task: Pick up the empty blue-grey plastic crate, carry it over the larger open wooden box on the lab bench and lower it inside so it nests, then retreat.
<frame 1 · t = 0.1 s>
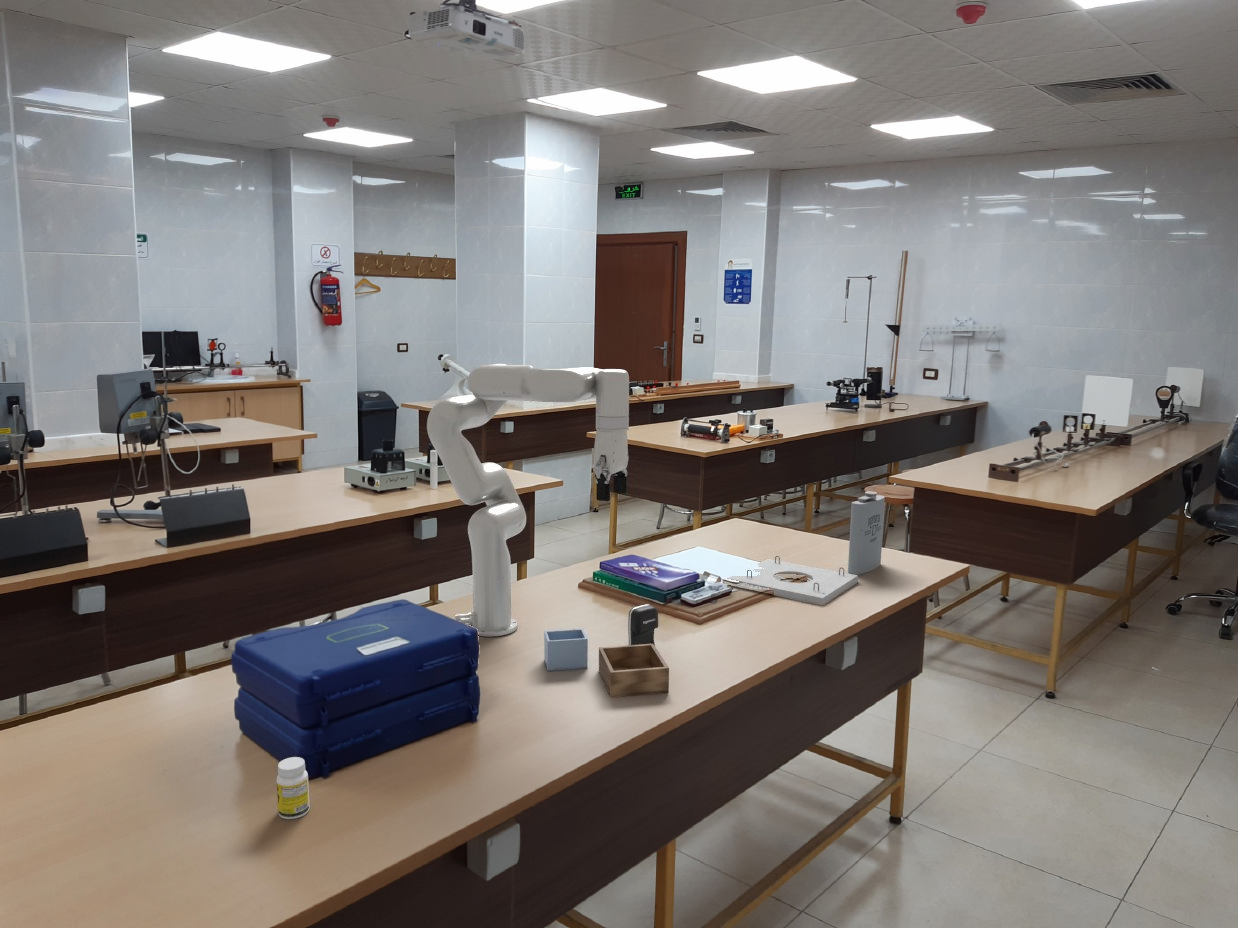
hand: (611, 496, 200), 37 cm above the lab bench, fingers open, 9 cm apart
supplement bottle: (294, 812, 138), on the lab bench
flask: (865, 569, 275), on the lab bench
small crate: (565, 664, 197), on the lab bench
mounting panel: (792, 586, 259), on the lab bench
black upright device: (643, 654, 204), on the lab bench
open wooden box: (632, 681, 188), on the lab bench
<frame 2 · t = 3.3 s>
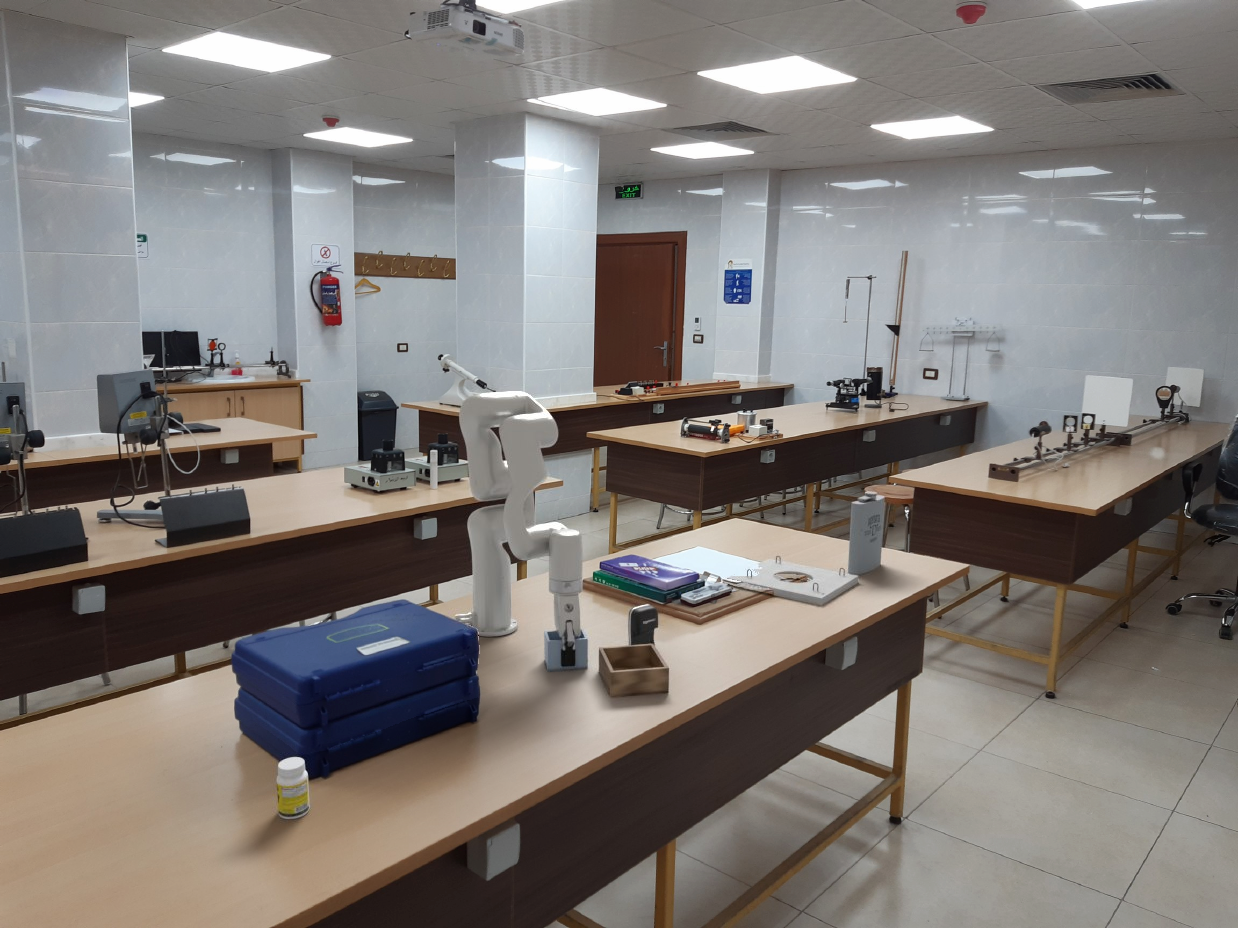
hand: (565, 659, 197), 1 cm above the lab bench, fingers closed on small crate, 6 cm apart
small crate: (565, 664, 197), on the lab bench, touching gripper
everything else where it was.
when the fingers open (3 cm above the lab bench, at t = 9.5 s): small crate drops 2 cm, resting on open wooden box.
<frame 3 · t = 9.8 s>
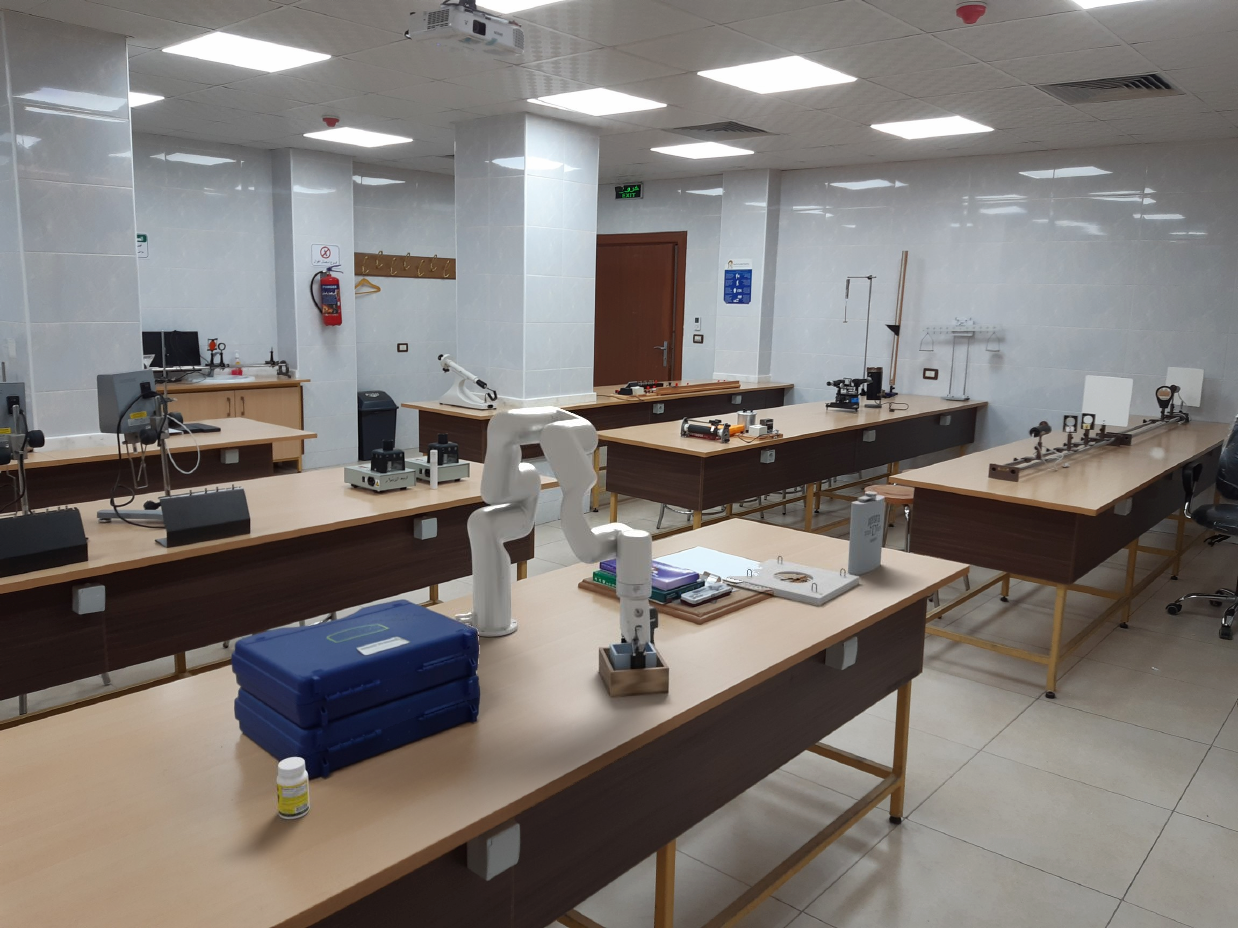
hand: (632, 663, 187), 4 cm above the lab bench, fingers open, 9 cm apart
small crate: (632, 678, 188), point 1 cm above the lab bench, touching open wooden box
everything else where it was.
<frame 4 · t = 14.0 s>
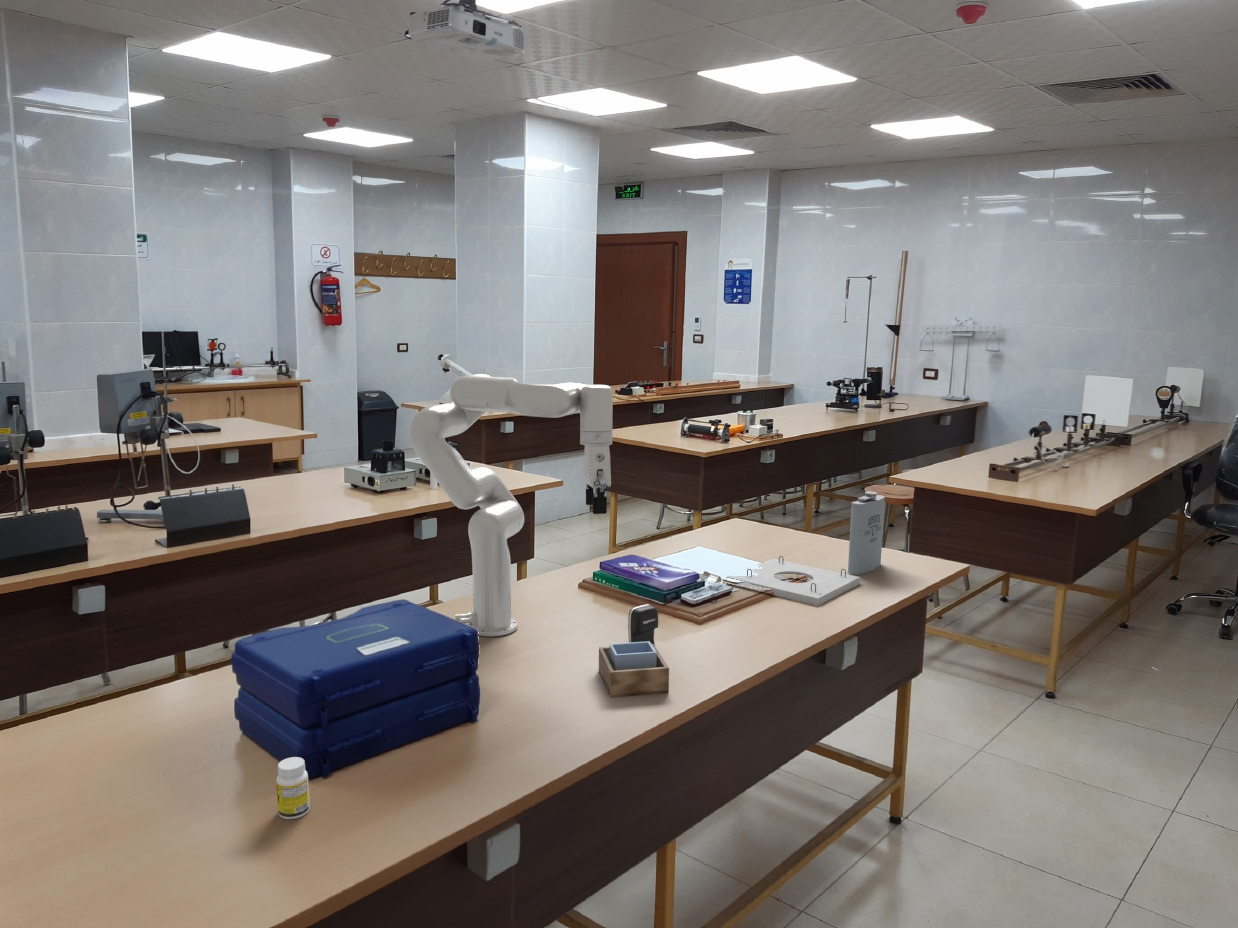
hand: (595, 509, 205), 33 cm above the lab bench, fingers open, 9 cm apart
nothing on the lab bench moved.
at the end: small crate inside the target area on the open wooden box (0.1 cm from its centre), point 0.6 cm above the open wooden box's base; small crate tilted 0°; the gripper is holding nothing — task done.
